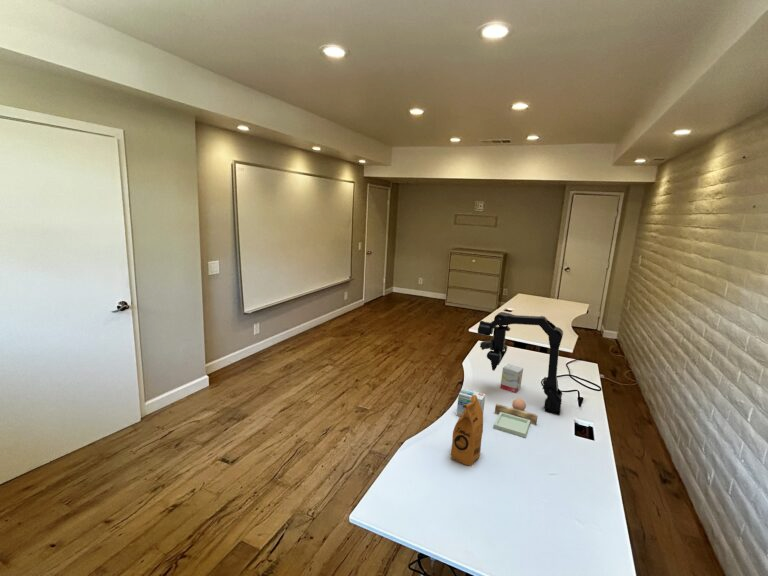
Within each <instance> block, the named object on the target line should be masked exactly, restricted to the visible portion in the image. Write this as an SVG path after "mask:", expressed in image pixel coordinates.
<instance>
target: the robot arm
mask: <svg viewBox="0 0 768 576" xmlns="http://www.w3.org/2000/svg"><path fill="white" fill-rule="evenodd" d="M509 325H526V326H527V325H528V326H539V327H540V328H541V329H542V330H543V332H544V333H545V334H546V335H547V336H548V344H549V358H548V360H549V361H548V368H547V369H548V371H547V376H544V378H543V381H542V384H543V385H542V390H543V393H544V395H546V396H547V397H546V398H545V401H544V407H543V408H544V412H546V413H549V414H554V415H558V416H560V414H561V410H562V409H561V408H562V407H561V406H562V401H563V399H562V397H563V392H562V390H561V389H560V388H559V383H558V382H559V380H558V375H557V374H558V365H559V364H558V363H559V354H560V346H561V343H562V340H563V335H564V331H563V330H562V329H561V327H557V326H556V325H555V324H554V323H552V322H551V321H550V320H548V319H547V317H545V316H543V315H541V316H535V315H534V316H533V315H518V314H512V313H509V312H505V311H504V312H503V311H500V312H498V313H497V314H496V315H495V316H494V317H493V320H492V321H491V322H488V321H484V320H480V321H479V324H478V328H477V334H478V335H481V336H482V335H483V336H487V337H490V336H491V335H492V339H491V340H484V341H481V342H480V344H479V345H480V346H479V347H480V349H481V350H482V351H484V350H488V349H489V351H488V352H487V353H486V358H487V360H489V361H490V365H491V370H492V371H493V372H495V371H496V369H497V367H498V366H499V365H500V363H501V362H502V360H503V358H504V356H505V355H506V353H507V352H508V346H507V344H505V343H506V341H507V340H506V334H507V332H510V330H511V328H510V326H509Z"/></svg>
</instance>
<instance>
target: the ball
mask: <svg viewBox="0 0 768 576" xmlns="http://www.w3.org/2000/svg"><path fill="white" fill-rule="evenodd" d="M511 404H512V408H514V409H517V410H521V411H525V409H526V407H527V406H526V405H527V404H526V401H525V400H524V399H522V398H519V397H518V398H515V399H513V401H512V403H511Z"/></svg>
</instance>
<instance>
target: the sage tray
mask: <svg viewBox="0 0 768 576" xmlns="http://www.w3.org/2000/svg"><path fill="white" fill-rule="evenodd" d="M530 425H531V423H530V420H528V419H524V418H521V417H517V416H513V415H510V414H506V413H503V412H500V413H499V414H497V417H496V419H495V421H494V423H493V427H492V428H493V429H495V430H497V431H502V432H504V433H507V434H511V435H514V436H518V437H521V438H524V439H526V438H527V434H528V431H529V428H530Z"/></svg>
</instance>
